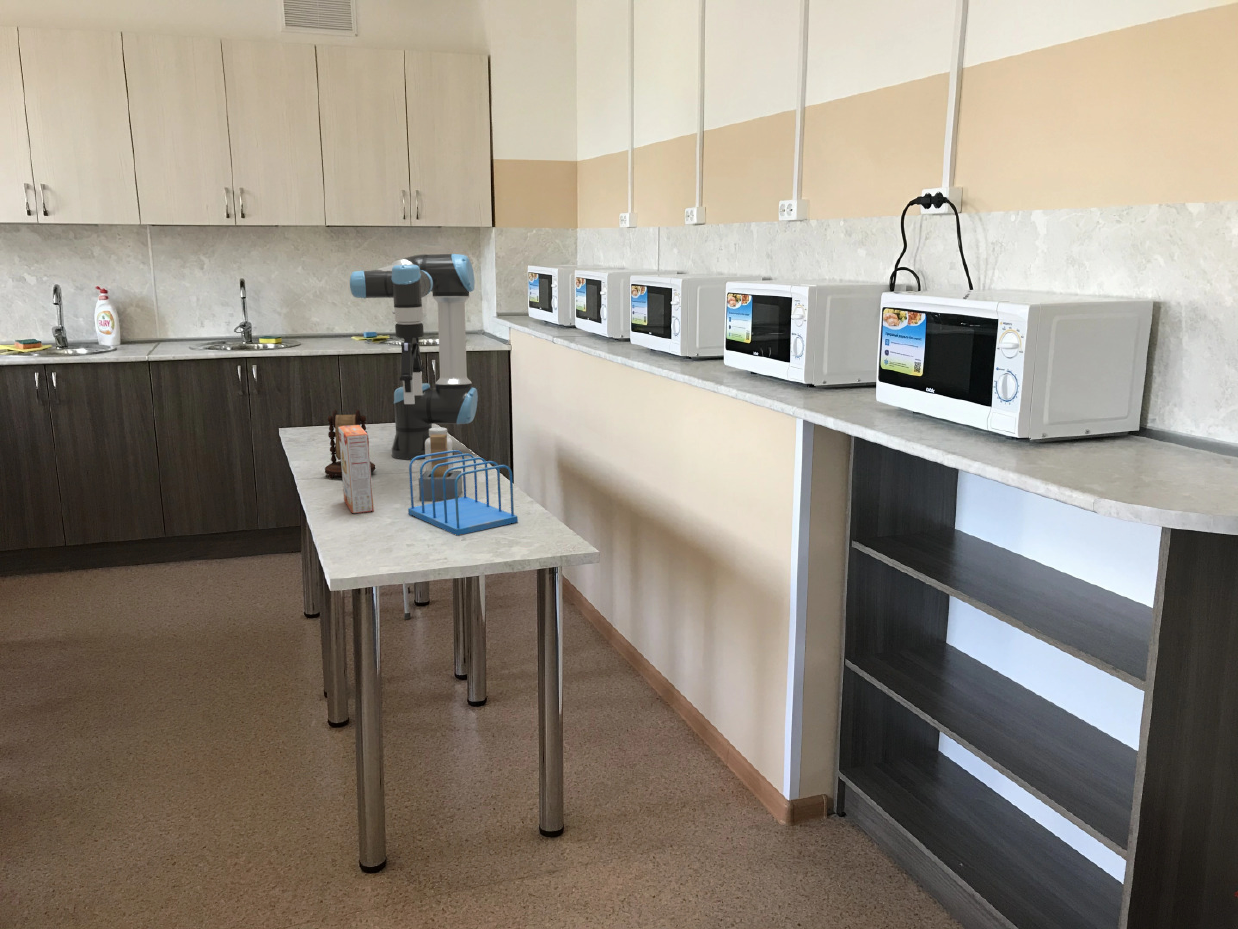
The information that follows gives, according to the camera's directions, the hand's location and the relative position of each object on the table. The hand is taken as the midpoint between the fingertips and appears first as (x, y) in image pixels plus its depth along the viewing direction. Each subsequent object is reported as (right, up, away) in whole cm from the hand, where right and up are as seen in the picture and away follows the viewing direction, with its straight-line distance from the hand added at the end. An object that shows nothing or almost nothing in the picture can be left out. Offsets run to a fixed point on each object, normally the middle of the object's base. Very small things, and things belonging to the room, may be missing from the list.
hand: (413, 399), depth 274 cm
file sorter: (+17, -32, -25) cm, 44 cm away
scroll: (-24, -21, +24) cm, 40 cm away
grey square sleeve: (+8, -27, -3) cm, 28 cm away
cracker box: (-12, -29, -13) cm, 34 cm away
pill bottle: (+4, -22, +18) cm, 29 cm away
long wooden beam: (+8, -26, -3) cm, 27 cm away
